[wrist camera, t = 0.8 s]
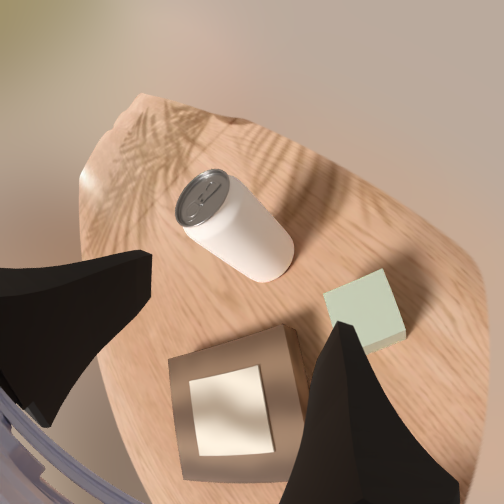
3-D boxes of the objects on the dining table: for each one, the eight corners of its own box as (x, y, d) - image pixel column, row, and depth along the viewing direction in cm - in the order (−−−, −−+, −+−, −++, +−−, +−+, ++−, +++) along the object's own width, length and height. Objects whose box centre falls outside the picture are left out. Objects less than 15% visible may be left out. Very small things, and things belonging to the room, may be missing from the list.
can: (234, 263, 34) (161, 212, 25) (269, 221, 34) (207, 157, 25) (268, 295, 30) (192, 246, 20) (307, 247, 30) (248, 177, 20)
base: (325, 468, 19) (314, 479, 16) (202, 475, 23) (182, 480, 21) (295, 330, 26) (281, 323, 24) (186, 362, 31) (166, 358, 29)
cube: (406, 339, 21) (405, 329, 17) (353, 359, 22) (340, 355, 19) (388, 288, 23) (382, 268, 20) (338, 309, 25) (322, 293, 21)
